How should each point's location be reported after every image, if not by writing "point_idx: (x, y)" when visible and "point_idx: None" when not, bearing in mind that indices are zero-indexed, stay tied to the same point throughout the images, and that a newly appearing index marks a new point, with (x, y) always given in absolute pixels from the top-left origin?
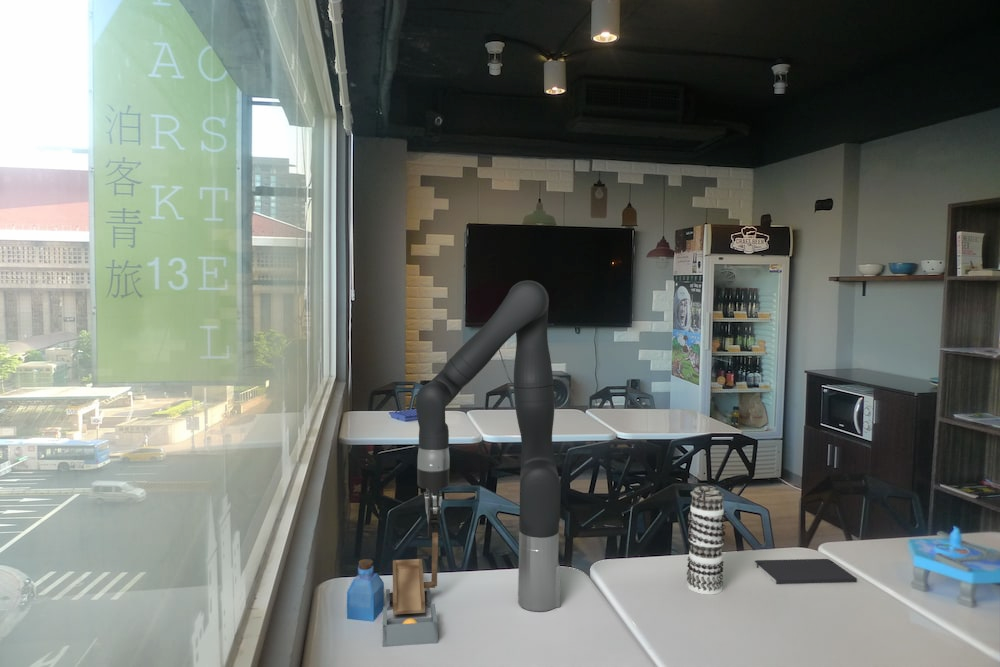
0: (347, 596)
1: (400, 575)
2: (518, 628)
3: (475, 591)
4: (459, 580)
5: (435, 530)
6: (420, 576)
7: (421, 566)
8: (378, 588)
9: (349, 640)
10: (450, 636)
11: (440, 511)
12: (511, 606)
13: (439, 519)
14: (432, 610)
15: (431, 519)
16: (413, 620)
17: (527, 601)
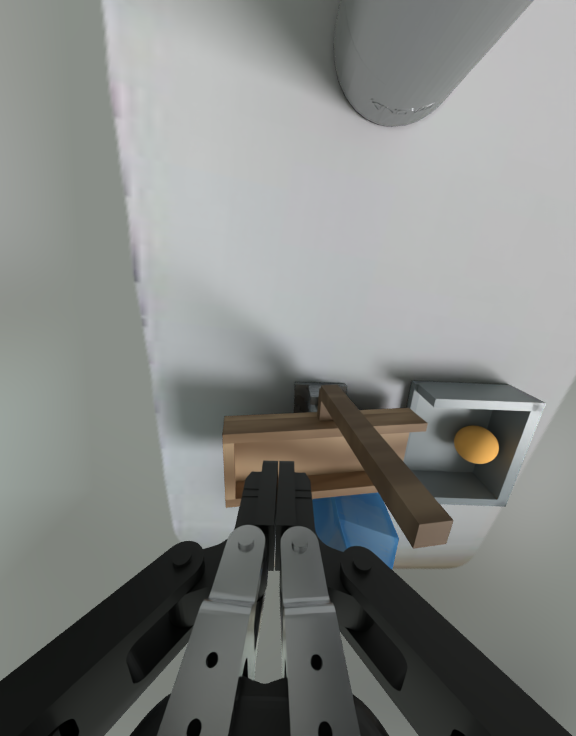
0: None
1: None
2: (531, 168)
3: (277, 256)
4: (200, 293)
5: (311, 505)
6: (318, 436)
7: (266, 435)
8: (370, 529)
9: None
10: (494, 355)
11: (337, 631)
12: (397, 158)
13: (365, 570)
14: (471, 407)
15: (372, 622)
16: (491, 448)
17: (456, 86)
